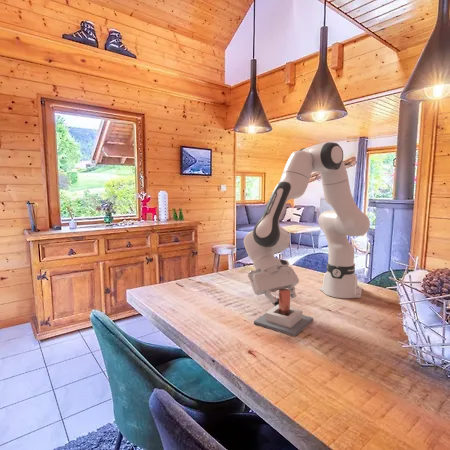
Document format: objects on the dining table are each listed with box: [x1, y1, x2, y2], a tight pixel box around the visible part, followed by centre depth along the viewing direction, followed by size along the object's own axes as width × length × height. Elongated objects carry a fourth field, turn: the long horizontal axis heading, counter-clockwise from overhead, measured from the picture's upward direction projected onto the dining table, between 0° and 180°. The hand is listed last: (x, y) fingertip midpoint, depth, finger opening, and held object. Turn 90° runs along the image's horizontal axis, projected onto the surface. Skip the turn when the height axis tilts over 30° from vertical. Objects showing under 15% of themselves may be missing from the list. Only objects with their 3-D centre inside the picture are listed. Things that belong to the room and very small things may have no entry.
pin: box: [278, 288, 291, 316], centre depth 110 cm, size 4×4×11 cm
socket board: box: [253, 305, 314, 337], centre depth 111 cm, size 16×16×4 cm
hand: (285, 299), depth 110 cm, fingers open, 8 cm apart
